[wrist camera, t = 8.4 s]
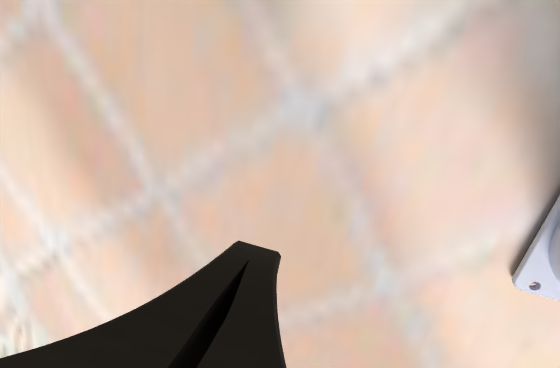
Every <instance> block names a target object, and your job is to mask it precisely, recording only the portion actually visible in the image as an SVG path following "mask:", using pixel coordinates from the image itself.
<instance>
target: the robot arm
mask: <svg viewBox="0 0 560 368" xmlns="http://www.w3.org/2000/svg"><path fill="white" fill-rule="evenodd" d="M280 259H281V255H280V254H279V252H277V251H273V250H270V249H266V248H262V247H259V246H255V245H252V244H248V243H245V242H241V241H237V242H235V243H234V244H233V245H231V246H230V247H229V248H228V249H227V250H225V251H224V252H223V253H222V254H220V255H219V256H218V257H216V258H215V259H214V260H212V261H211V262H210V263H209V264H207V265H206V266H204V267H203V268H202V269H200V270H199V271H197V272H196V273H195V274H193V275H192V276H190V277H189V278H187V279H186V280H184V281H183V282H181V283H179V284H178V285H176V286H175V287H173V288H172V289H170V290H168V291H167V292H165V293H163V294H162V295H160V296H158V297H157V298H155V299H153V300H151V301H149V302H148V303H146V304H144V305H142V306H140V307H138V308H136V309H134V310H132V311H130V312H128V313H126V314H124V315H122V316H119V317H117V318H115V319H113V320H111V321H108V322H106V323H104V324H101V325H99V326H97V327H94V328H92V329H90V330H87V331H84V332H82V333H79V334H76V335H74V336H71V337H68V338H65V339H62V340H59V341H56V342H54V343H51V344H48V345H45V346H41V347H38V348H35V349H32V350H29V351H25V352H21V353H18V354H14V355H11V356H7V357H4V358H0V368H286V364H285V359H284V354H283V349H282V343H281V337H280V330H279V322H278V312H277V293H276V283H277V273H278V268H279V264H280ZM512 282H513V284H514V286H515V287H516V288H517V289H519V290H521V291H525V292H528V293H532V294H536V295H539V296H543V297H547V298H550V299H554V300H557V301H560V195H559V197H558V199H557V201H556V202H555V204H554V206H553V208H552V209H551V211H550V213H549V214H548V216H547V218H546V220H545V221H544V223H543V225H542V227H541V228H540V230H539V232H538V234H537V235H536V237H535V239H534V240H533V242H532V244H531V246H530V247H529V249H528V251H527V253H526V254H525V256H524V258H523V260H522V261H521V263H520V265H519V267H518V268H517V270H516V272H515V273H514V275H513V277H512ZM533 282H538V283H537V284H536V285H533V286H532V285H530V284H531V283H533Z"/></svg>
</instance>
